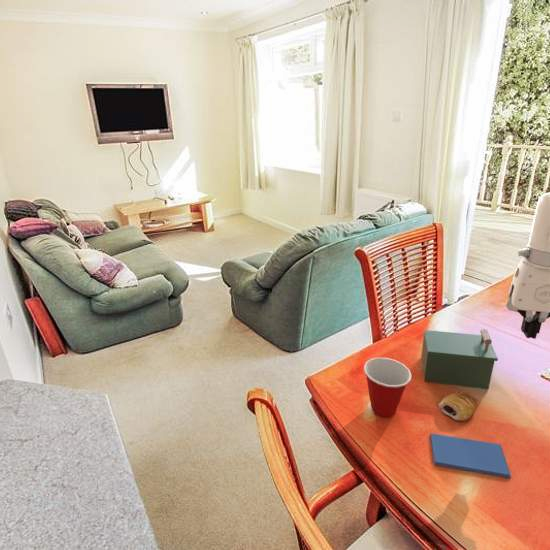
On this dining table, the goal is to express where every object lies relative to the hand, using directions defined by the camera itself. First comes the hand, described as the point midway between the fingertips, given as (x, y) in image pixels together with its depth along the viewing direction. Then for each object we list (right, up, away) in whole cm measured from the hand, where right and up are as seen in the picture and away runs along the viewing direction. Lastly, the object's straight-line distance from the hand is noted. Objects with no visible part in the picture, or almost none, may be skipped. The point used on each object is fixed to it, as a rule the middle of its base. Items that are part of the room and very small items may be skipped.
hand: (528, 334), depth 81 cm
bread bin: (-6, -14, +22) cm, 27 cm away
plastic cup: (-28, -20, +11) cm, 36 cm away
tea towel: (-15, -25, -2) cm, 29 cm away
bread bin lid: (-6, -6, +18) cm, 20 cm away
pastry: (-11, -20, +9) cm, 25 cm away
